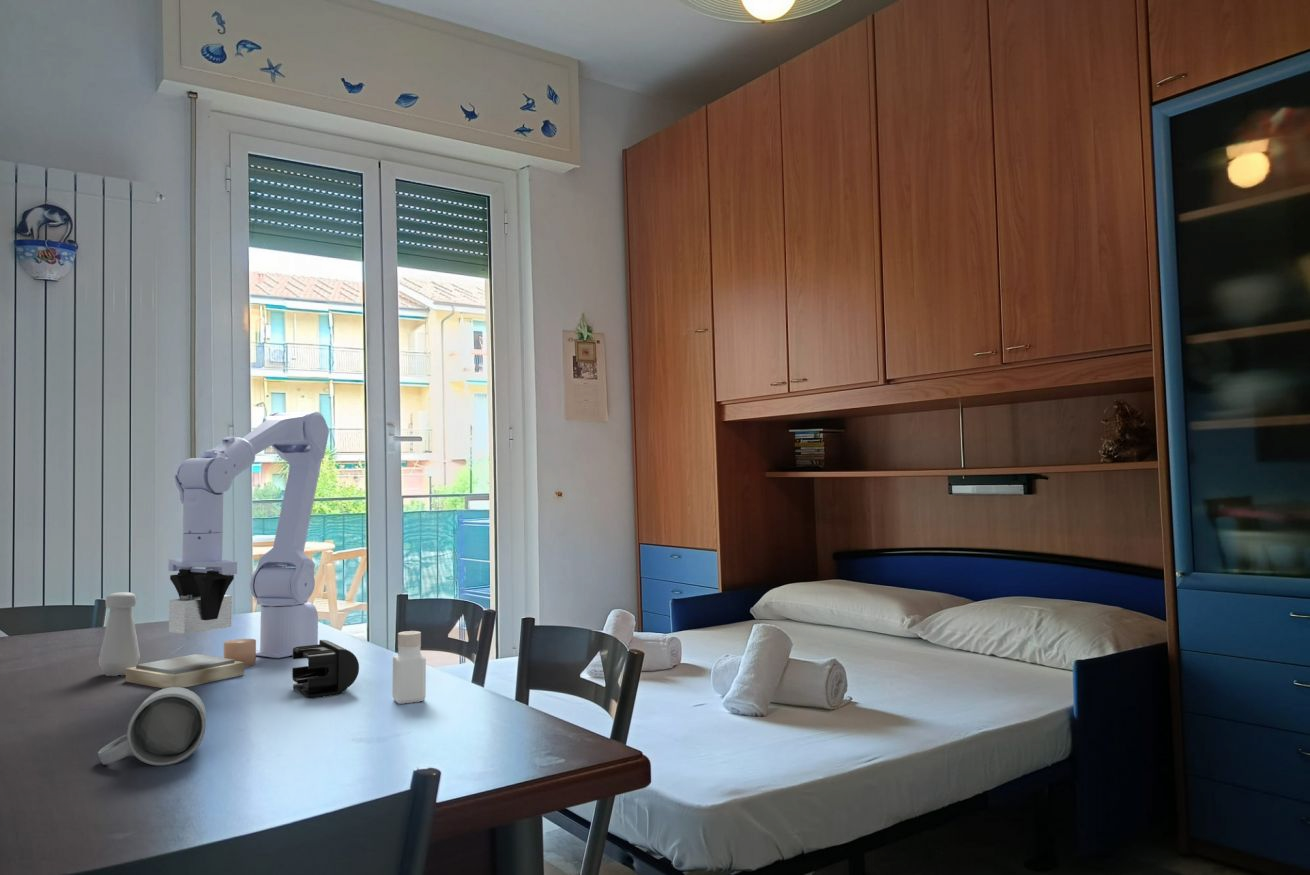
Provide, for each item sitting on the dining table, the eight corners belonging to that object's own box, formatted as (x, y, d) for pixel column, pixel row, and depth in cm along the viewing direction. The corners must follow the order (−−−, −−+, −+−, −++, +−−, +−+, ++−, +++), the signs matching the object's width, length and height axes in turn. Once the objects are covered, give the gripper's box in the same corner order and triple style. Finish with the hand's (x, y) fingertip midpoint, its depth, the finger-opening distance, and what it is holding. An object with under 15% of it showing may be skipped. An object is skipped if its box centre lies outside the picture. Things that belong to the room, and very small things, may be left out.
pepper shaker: (391, 699, 128) (392, 631, 129) (420, 696, 130) (420, 629, 131) (397, 705, 125) (397, 636, 125) (426, 702, 127) (427, 633, 127)
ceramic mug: (206, 741, 108) (206, 676, 108) (205, 760, 100) (205, 690, 101) (102, 755, 103) (102, 687, 103) (93, 776, 96) (94, 703, 96)
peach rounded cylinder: (243, 661, 157) (243, 637, 157) (261, 663, 154) (262, 640, 155) (216, 666, 153) (217, 642, 153) (235, 669, 150) (236, 644, 150)
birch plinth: (197, 667, 151) (197, 652, 151) (243, 674, 145) (244, 659, 145) (125, 681, 141) (125, 665, 141) (172, 689, 135) (172, 673, 135)
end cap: (359, 693, 133) (359, 646, 133) (309, 700, 128) (310, 652, 129) (339, 681, 141) (339, 637, 141) (291, 687, 137) (292, 642, 137)
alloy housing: (215, 624, 148) (216, 590, 148) (231, 626, 146) (231, 591, 146) (168, 632, 141) (169, 595, 141) (184, 633, 139) (185, 597, 139)
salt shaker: (125, 677, 144) (127, 595, 144) (89, 677, 144) (92, 595, 145) (146, 669, 150) (148, 590, 150) (112, 669, 150) (114, 590, 150)
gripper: (151, 532, 145) (149, 618, 144) (208, 535, 138) (206, 625, 137) (192, 530, 151) (190, 612, 150) (249, 532, 144) (247, 619, 143)
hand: (201, 618), depth 144 cm, fingers closed on alloy housing, 4 cm apart
